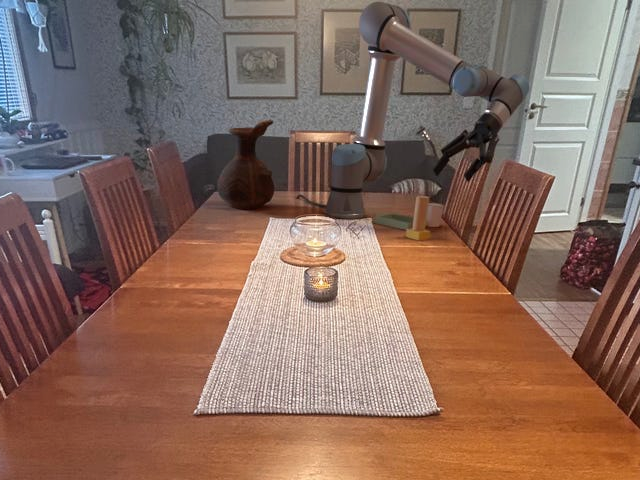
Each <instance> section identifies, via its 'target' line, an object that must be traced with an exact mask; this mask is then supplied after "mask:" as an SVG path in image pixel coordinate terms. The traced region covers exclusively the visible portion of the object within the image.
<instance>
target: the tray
mask: <svg viewBox="0 0 640 480" xmlns="http://www.w3.org/2000/svg"><path fill="white" fill-rule="evenodd" d="M413 221H414V216H407V215H403V214H399V213H394V212H392V213H386V214H385V213H384V214H379V215H378V214H377V215H374V217H373V223H374V224H378V225H382V226H386V227H391V228H395V229H400V230H403V231H406V230H407V229H410V228H413ZM425 227H427V226H426V225H425Z"/></svg>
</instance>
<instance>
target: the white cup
mask: <svg viewBox="0 0 640 480" xmlns="http://www.w3.org/2000/svg"><path fill="white" fill-rule="evenodd" d="M444 208H445V205H444V204H442V203H436V202H429V204H428V211H427V218H426V226H425V227H428V228H429V227H431V228H437V227H440V225H441V220H442V217H443V212H444Z"/></svg>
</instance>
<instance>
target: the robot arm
mask: <svg viewBox="0 0 640 480" xmlns="http://www.w3.org/2000/svg"><path fill="white" fill-rule="evenodd" d="M411 21H412V20H411V18H410V16H409V14H408V12H407V11H406V10H405V9H403V8H402V7H401V6H399V5H395V4H392V3H391V4H390V3H387V2H384V1H373V2H371V3H370V4H368V5H366V7H365V8H364V9H363V10H362V12H361V13H360V17H359V21H358V30H359V34H360V37H361V38H362V40H363V41H364V42H365V43H366V44H368V45H367V46H368V47H367V53H368V55H369V56H370V64H369V68H368V69H369V70H368V75H367V82H366V89H365V93H364V94H365V95H364V100H363V101H364V102H363V108H362V114H361V122H360V127H359V132H358V133H359V134H358V136H356V137H355V138H354V139H353V143H347V144H339V145H337V146H335V147H334V148H333V150H332V157H331V172H330V173H331V174H330V191H329V195H328V198H327V202H326V204H322V203H319V202H318V203H317V202H314V201H311V200H310V199H309V198H307V197H306V196H305V195H303V194H301V193H300V194H298V195H297V196H296V199H299V198H301V199H303V200H304V201H306V202H307V203H308V204H309V205H312V206H315V207H319V208H324V209H323V210H324V211H323V214H324V216H326V217H328V216H329V218H334V219H341V220H342V219H343V220H355V219H356V220H357V219H358V220H359V219H363V218H365V217H366V208H365V207H366V204H365V202H364V198H363V187H364V186H363V185H364V183H367V182H372V181H375V180H377V179H379V178H380V177H381V176H382V175H383V174H384V172H385V170H386V168H387V163H388V158H387V155H386V153H385V152H386V151H385V149H386V143H385V141H384V140H383V137H384V130H385V124H386V119H387V113H388V107H389V102H390V96H391V90H392V84H393V78H394V72H395V67H396V62H397V61H398V60H399V59H400V58H401V59H403V60H404V61H406V62H408V63H410V64H412V65H413V66H414V67H416V68H418V69H420V70H421V71H423V72H425V73H427V74H428V75H430V76H432V77H433V78H434V79H436V80H438V81H440V82H441V83H442V84H443V83H444V85H447V86H448V87H449V88H451V89H453V91H454V92H455V93H456V94H457V95H458V96H460V97H462V98H463V97H464V98H468V97H479V98H482V99H483V100H485V101H487V102H489V105H488V106H487V107H486V108H485V110H484V111H483V113H482V114H481V115H480V117H479V118H478V119H477V120H476V122H475V124H474V128H473V130H471V131H468V129H464V130H463V131H462V132H461V133H460V134H459V135H458V136H457V137H455V138H454V139H453V140H452V141H450V142H449V143H447V144H446V145H445V146H444V147H442V148H441V149H440V152H441V157H440V158H439V159H438V161H437V163H436V164H435V166H434V167H433V168H432V172H433V173H434V175H435V176H436V177H438V176H439V175H440V174H441V173H442V172H443V170H444V169H445V167H446V166H447V164H448V163H449V162H450V161H451V160H450V159H451V158H452V157H455V156H456V155H458V154H459V153H461V152H463V151H464V150H466V149H467V150H469V149H470V148H475V149H478V151H479V152H478V157H476V158H475V159H474V161H473V162H472V163H471V164H470V166H469V168H468V169H467V170H466V171H465V172H464V174H463V176H464V179H465V180H466V182H467V183H469V182H470V181H471V180H472V178H473V177H474V176H475V174H476V173H478V172H479V171H480V169H481V168H482V167H483V165H486V164H491V163H493V158H494V155H495V151H496V147H497V145H498V143H499V142H500V137H499V132H500V130H501V129H502V128H503V127H504V126H505V125H506V123H507V122H508V120H509V119H510V118H511V117H512V115H513V114H514V113H515V111H516V110H517V109H518V108H519V107H520V106H521V104H522V103H523V101H524V99H525V98H526V97H527V95H528V94H529V91H530V82H529V81H528V79H527V78H526V77H525V76H524V75H522V74H517V73H515V74H512V75H511V76H510V77H509V78H507V77H504V76H502V75H500V74H498V73H497V72H494V71H493V70H492V69H489V68H487V67H486V66H485V65H481V64H479V63H474V64H473V65H472V64H470V63H469V62H467V61H465V60H463V59H461V58H460V57H459V56H456V55H455V54H453V53H452V52H450V51H448V50H447V49H444V48H443V47H441V46H440V45H438V44H437V43H434V42H432V41H431V40H430V39H428V38H426V37H424V36H423V35H421V34H419V33H417V32H416V31H414V30H412V22H411ZM487 144H488V146H487Z"/></svg>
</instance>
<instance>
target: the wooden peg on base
mask: <svg viewBox="0 0 640 480" xmlns="http://www.w3.org/2000/svg"><path fill="white" fill-rule="evenodd" d="M415 198H416V199H415V205H414V214H413V218H414V221H413V228H410V229H407V230H405V231H406V232H405V237H406V238H408V239H412V240H415V241H417V242H419V241H426V240H430V238H431V230H428V229H426V226H425V225H426V218H427V211H428V204H429V203H430V196H427V195H416V197H415Z"/></svg>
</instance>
